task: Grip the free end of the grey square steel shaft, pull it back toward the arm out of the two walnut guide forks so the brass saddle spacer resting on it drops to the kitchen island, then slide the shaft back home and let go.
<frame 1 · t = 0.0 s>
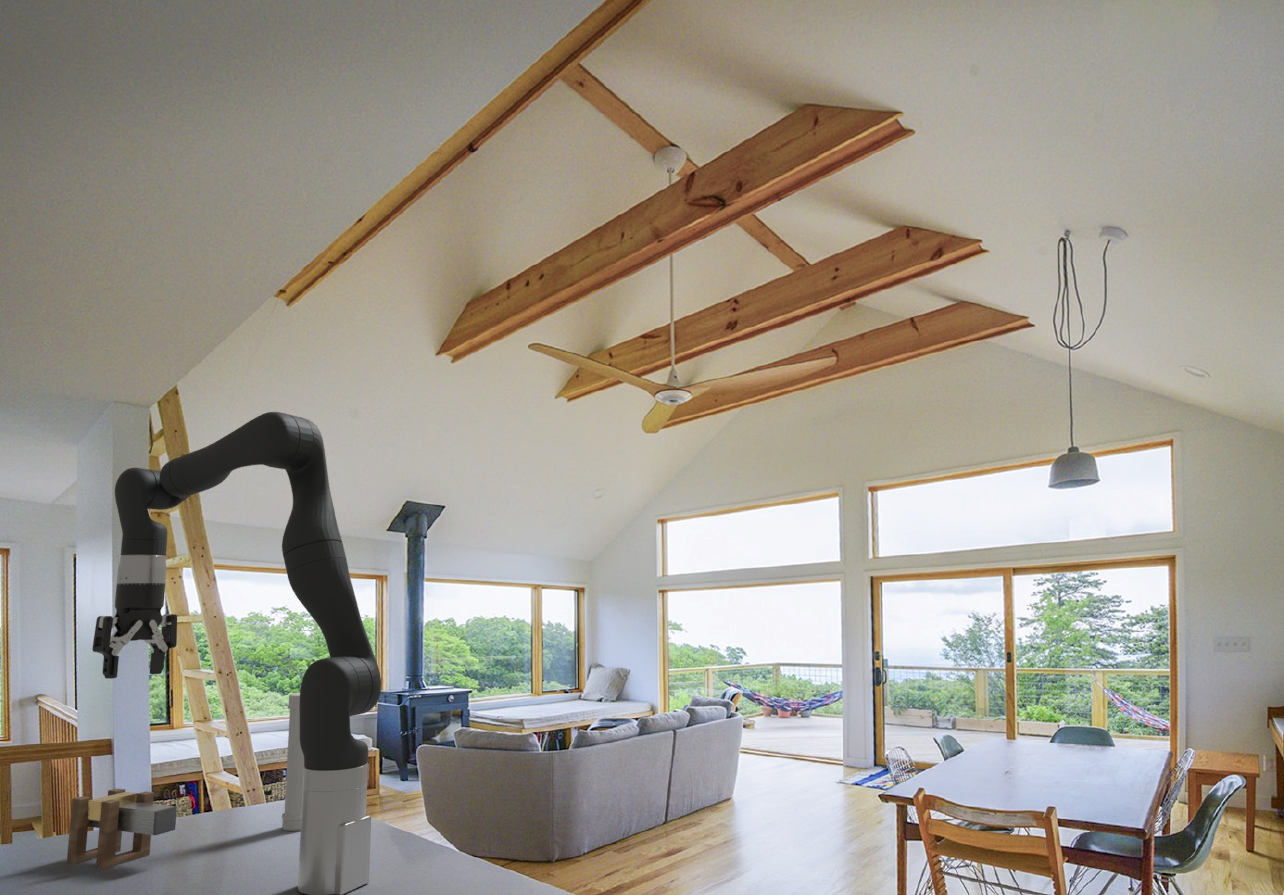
hand: (133, 676, 151), 29 cm above the kitchen island, tool pointing down, fingers open, 8 cm apart
bearing blocks: (108, 858, 145), on the kitchen island
shaft: (128, 816, 145), point 7 cm above the kitchen island, slide at 0.0 cm, touching spacer
spacer: (112, 815, 146), point 7 cm above the kitchen island, touching shaft
pipe: (295, 828, 163), on the kitchen island
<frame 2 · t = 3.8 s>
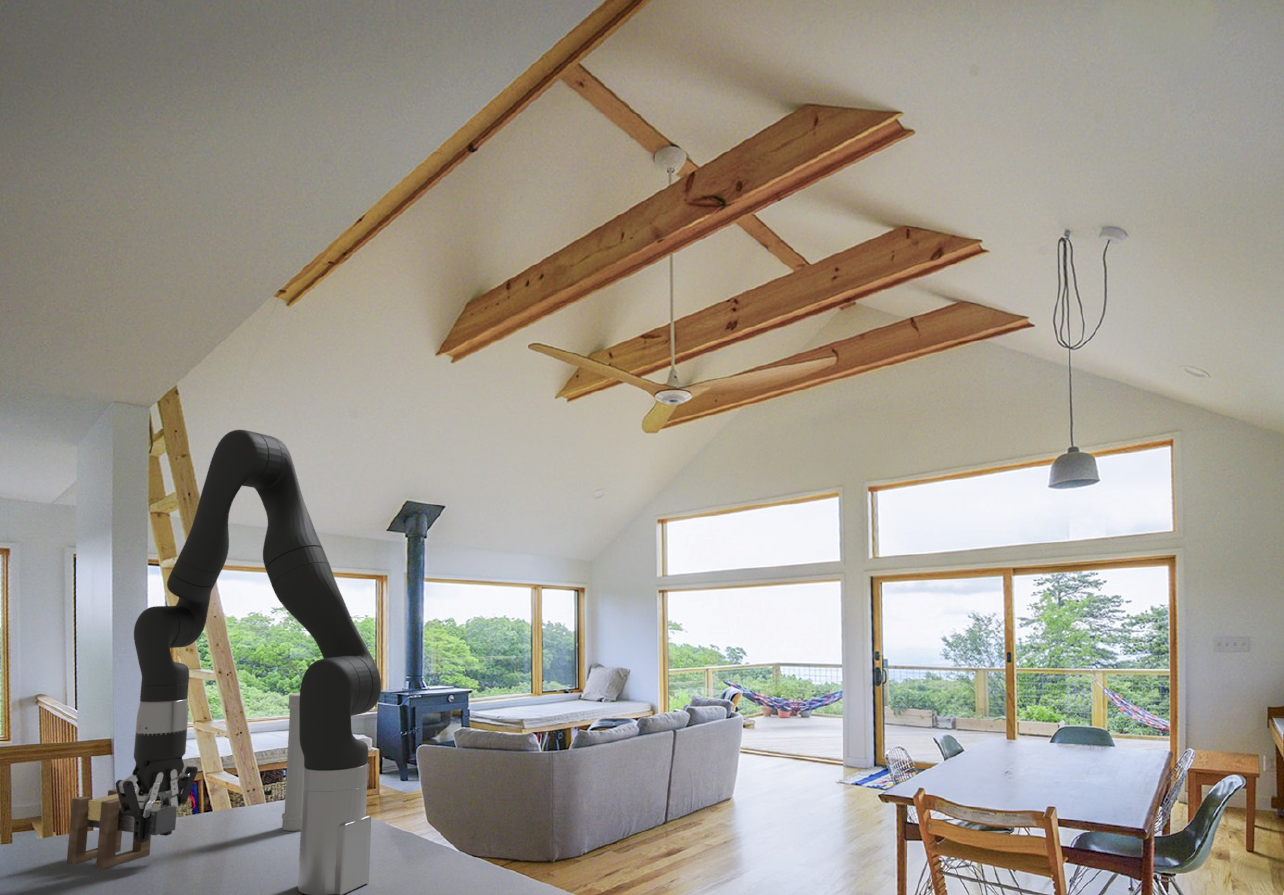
hand: (153, 837, 142), 4 cm above the kitchen island, tool pointing down, fingers closed on shaft, 3 cm apart
shaft: (128, 816, 145), point 7 cm above the kitchen island, slide at 0.0 cm, touching gripper, spacer
everything else where it was.
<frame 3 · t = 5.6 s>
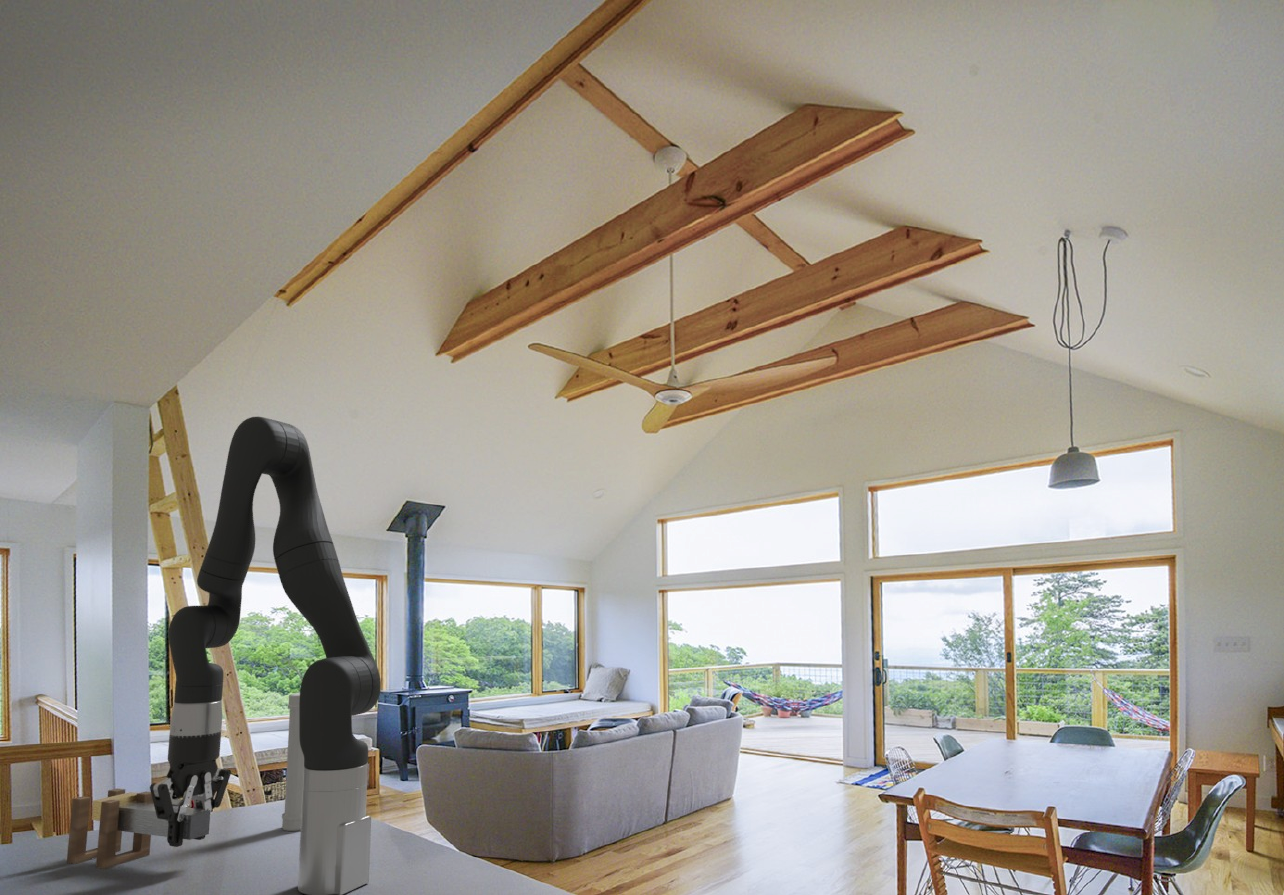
hand: (187, 841, 139), 4 cm above the kitchen island, tool pointing down, fingers closed on shaft, 3 cm apart
shaft: (160, 820, 142), point 7 cm above the kitchen island, slide at 7.5 cm, touching gripper, spacer
spacer: (116, 816, 146), point 7 cm above the kitchen island, touching bearing blocks, shaft
everything else where it was.
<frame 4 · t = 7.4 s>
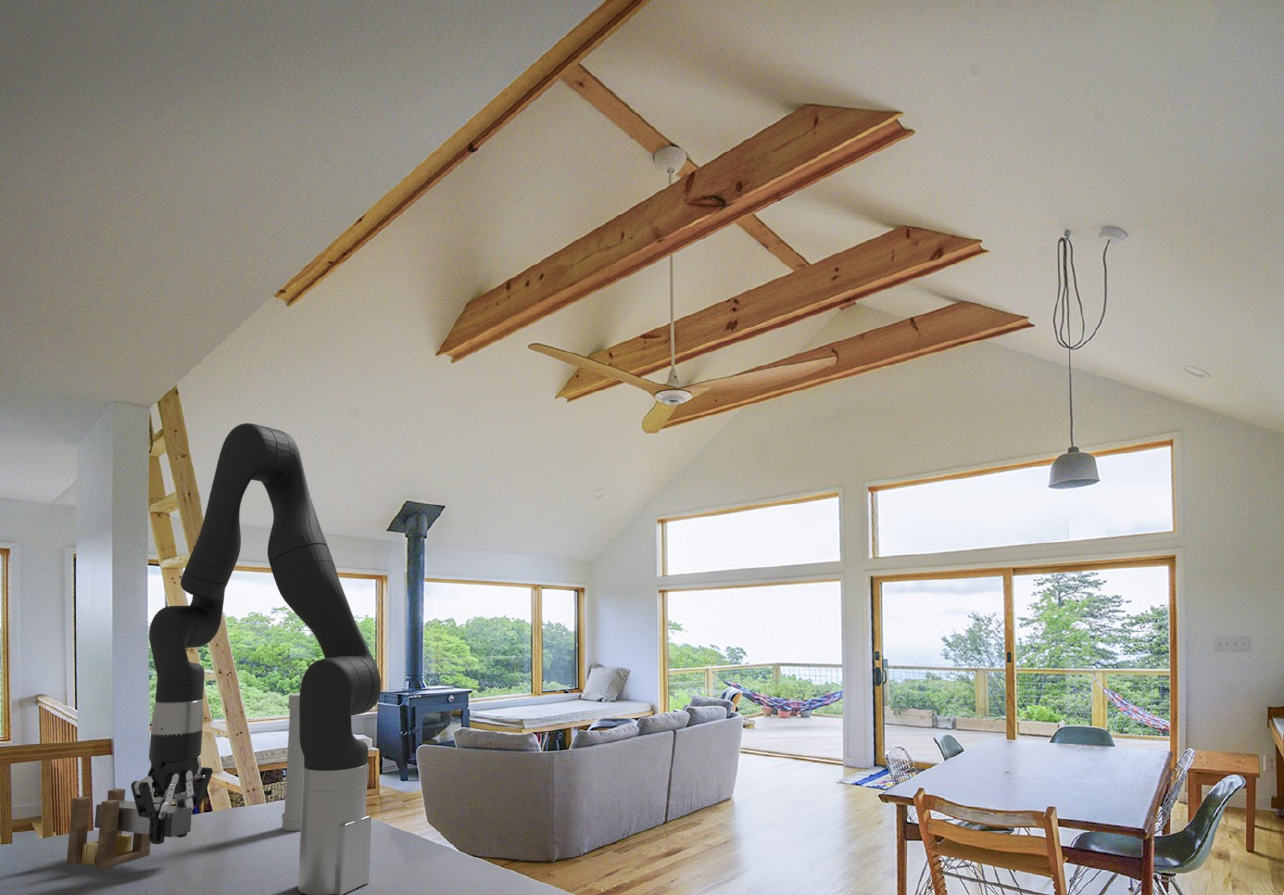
hand: (168, 839, 141), 4 cm above the kitchen island, tool pointing down, fingers closed on shaft, 3 cm apart
shaft: (142, 817, 143), point 7 cm above the kitchen island, slide at 3.4 cm, touching gripper
spacer: (113, 849, 145), point 1 cm above the kitchen island, tilted 90°
everything else where it was.
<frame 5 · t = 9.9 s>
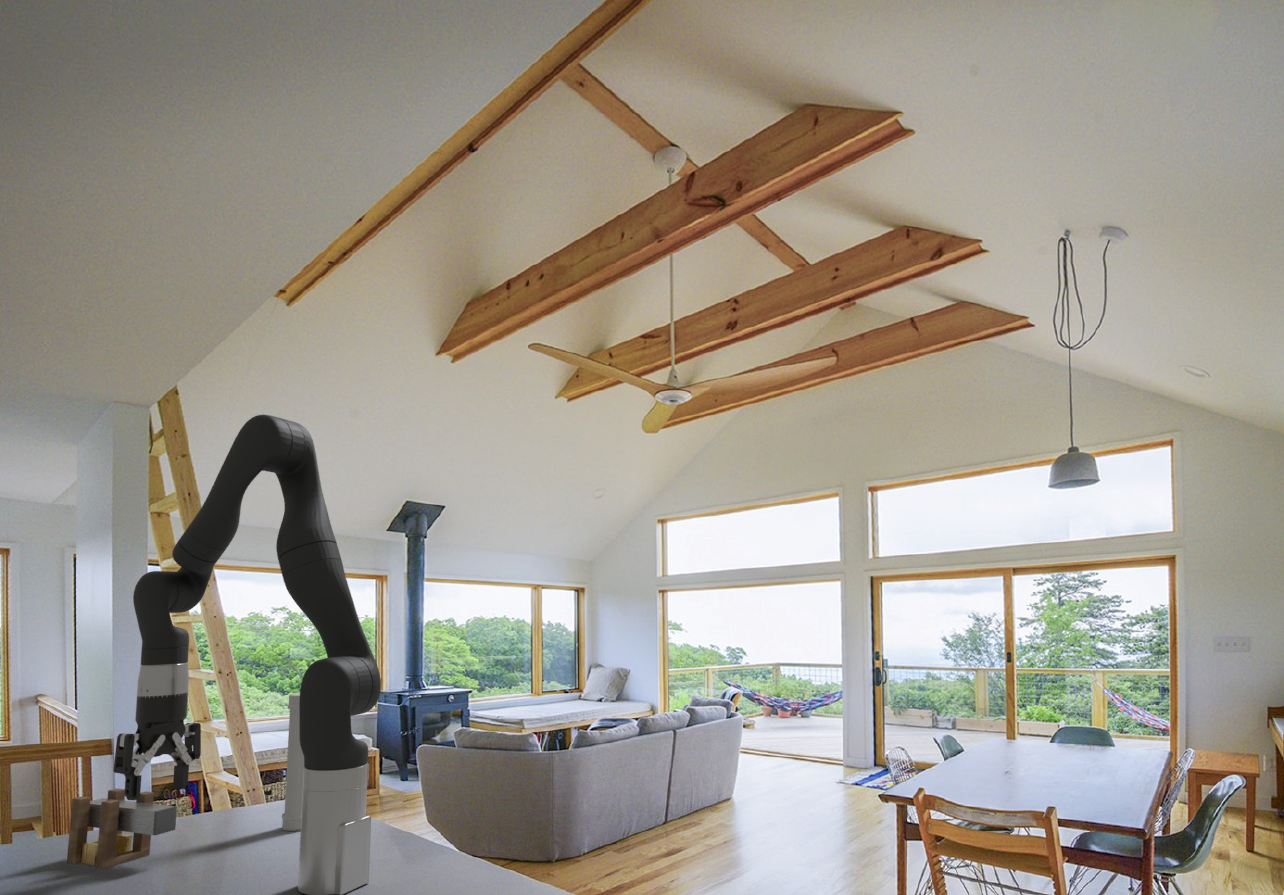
hand: (157, 794, 143), 11 cm above the kitchen island, tool pointing down, fingers open, 8 cm apart
shaft: (128, 816, 145), point 7 cm above the kitchen island, slide at 0.0 cm
everything else where it was.
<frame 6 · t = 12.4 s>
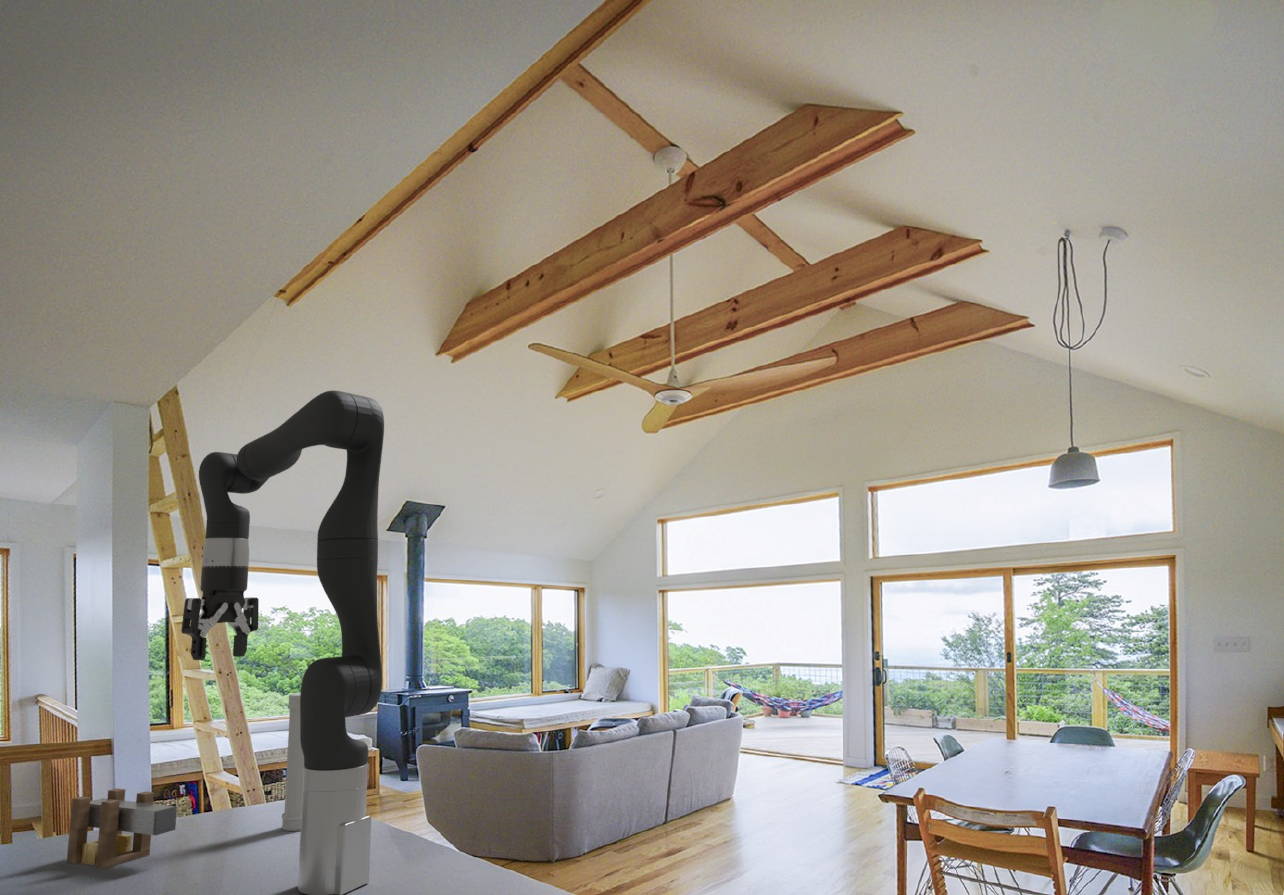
hand: (219, 658, 153), 32 cm above the kitchen island, tool pointing down, fingers open, 8 cm apart
nothing on the kitchen island moved.
at the end: spacer point 1.5 cm above the kitchen island; spacer inside the target area on the bearing blocks (1.0 cm from its centre), point 1.5 cm above the bearing blocks's base; shaft slide at 0.0 cm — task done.
